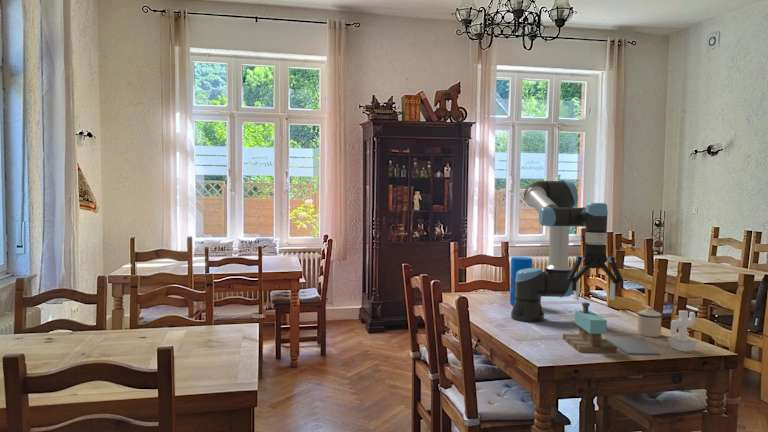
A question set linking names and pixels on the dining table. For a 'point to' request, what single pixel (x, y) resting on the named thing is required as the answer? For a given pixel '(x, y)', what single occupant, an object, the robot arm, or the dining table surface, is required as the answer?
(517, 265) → the tall blue block
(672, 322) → the figurine
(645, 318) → the teacup with lid
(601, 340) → the wooden stand with peg
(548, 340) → the dining table surface
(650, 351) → the rubber mat
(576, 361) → the dining table surface
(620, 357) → the dining table surface
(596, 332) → the mint green knobbed block
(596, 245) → the robot arm
